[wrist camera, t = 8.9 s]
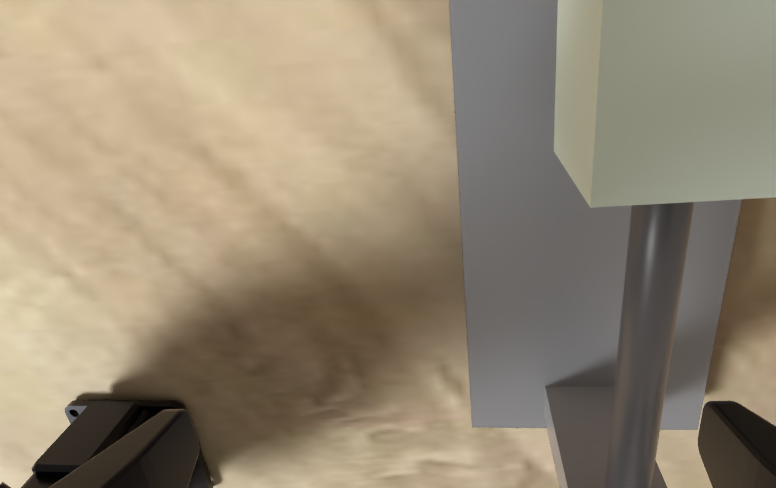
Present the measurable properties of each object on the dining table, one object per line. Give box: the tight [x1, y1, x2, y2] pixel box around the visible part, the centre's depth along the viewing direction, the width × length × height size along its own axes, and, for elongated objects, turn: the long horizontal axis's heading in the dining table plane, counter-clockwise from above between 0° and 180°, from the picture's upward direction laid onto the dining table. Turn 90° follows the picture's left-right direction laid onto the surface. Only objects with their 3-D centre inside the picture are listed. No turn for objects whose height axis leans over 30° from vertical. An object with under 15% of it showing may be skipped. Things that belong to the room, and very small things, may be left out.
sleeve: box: [554, 0, 776, 208], centre depth 10 cm, size 4×4×4 cm
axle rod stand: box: [449, 0, 742, 488], centre depth 14 cm, size 22×9×9 cm, turn 6°
